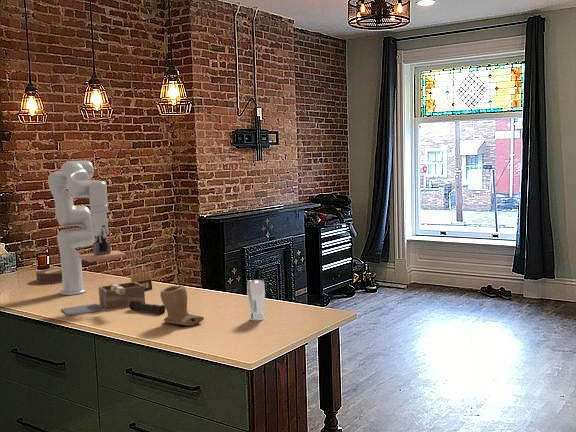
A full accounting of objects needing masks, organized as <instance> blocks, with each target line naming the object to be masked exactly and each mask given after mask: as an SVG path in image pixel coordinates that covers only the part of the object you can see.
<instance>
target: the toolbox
mask: <svg viewBox="0 0 576 432" xmlns="http://www.w3.org/2000/svg"><path fill="white" fill-rule="evenodd" d="M117 284H118V285H119V286H121V287H123V288H125V294H124V295H119V294H118V293H116V292H114V291H112V290H111V286H110V285H104V286H103V285H102V286H98V297H99V298H98V302H99V306H100V307H102V308H103V309H105V310H108V311H109V310H112V309H113V310H114V309H118V308H119V309H120V308H125V307H130V302H131V301H132V300H137V301H141V303H145V304H146V296H145V291H144V286H143V285H141V284H139V283H137V282H131V281H130V282H126V283H117Z"/></svg>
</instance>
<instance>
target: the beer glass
mask: <svg viewBox="0 0 576 432" xmlns="http://www.w3.org/2000/svg"><path fill="white" fill-rule="evenodd" d="M246 283H247V286H246V289H247V290H246V292H247V293H246V295H247V301H248V305H249V320H250V321H252V322H258V321H259V322H260V321H264V320H265V319H266V317H265V313H264V311H265V310H264V307H265V299H266V288H265V287H266V286H265V280H262V279H252V280H248V281H247V282H246Z"/></svg>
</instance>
